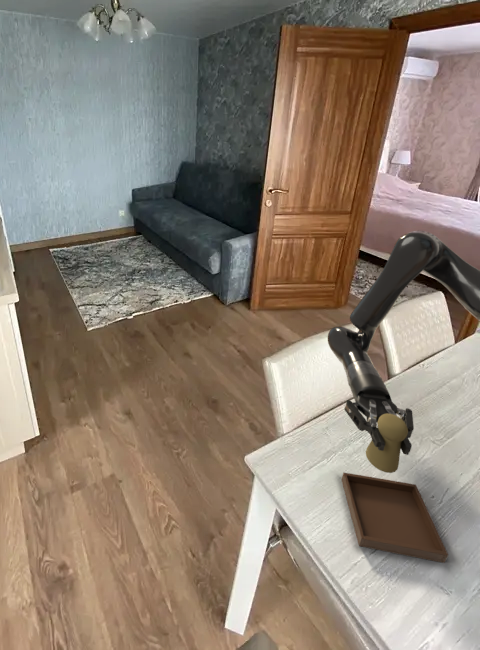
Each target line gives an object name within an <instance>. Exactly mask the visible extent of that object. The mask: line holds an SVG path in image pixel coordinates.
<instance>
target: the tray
mask: <svg viewBox="0 0 480 650" xmlns="http://www.w3.org/2000/svg"><path fill="white" fill-rule="evenodd" d="M341 483H342V487H343V491H344V495H345V499H346V502H347V506H348V509H349V513H350V518H351V521H352V525H353V529H354V532H355V537H356V540H357V544H358V547H363V548H367V549H372V550H377V551H382V552H387V553H392V554H398V555H401V556H407V557H412V558H418V559H422V560H426V561H427V560H428V561H433V562H437V563H443V564H445V563H446V561H447V560H448V558H449V552H448V551H447V549H446V547H445V544H444V543H443V541H442V538H441V537H440V533H439V532H438V529H437V526H436V525H435V523H434V521H433V518H432V516H431V513H430V512H429V509H428V507H427V506H426V505H427V504H426V503H425V501H424V498H423V497H422V495H421V492H420V490H419V488H418V486H417V484H415V483H409V482H403V481H397V480H392V479H391V480H390V479H385V478H379V477H373V476H367V475H360V474H357V473H355V474H354V473H349V472H343V473H342V475H341Z"/></svg>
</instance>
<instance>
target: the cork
mask: <svg viewBox="0 0 480 650" xmlns="http://www.w3.org/2000/svg"><path fill="white" fill-rule="evenodd" d="M396 415H397V414H396ZM396 415H393V414H383V415H381V416H380V417H379V419H378V422H377V428H378V429H379V431H380V433H381V435H382V437H383V440H384V442H385V447H384V450H383V451H380V450H378V447H375V445H374V443H373V441H372V440H371V441H370V442H369V444H368V445H367V447H366V450H365V456H366V458H367V460H368V462H369V463H370V465H372V466H373V467H374V468H375V469H377V470H379V471H380V472H383V473H389V474H392V473H395V472H397V471H398V469H399V464H400V456H401V451H402V450H401V442H402V441H403V440H404V439H405V438H406V437H407V434H408V428H407V426H406V424H405V422H404V421H403V420H402V419H401V418H400V416H399V415H397V416H396Z"/></svg>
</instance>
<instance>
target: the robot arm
mask: <svg viewBox="0 0 480 650" xmlns="http://www.w3.org/2000/svg"><path fill="white" fill-rule="evenodd" d="M423 272H425V273H426V274H427V275H429V276H430V277H432V278H433V279H435V280H436V281H437V282H438V283H440V284H442V285H443V286H444V287H445V288H446V289H447V290H448V291H449V292H450V293H451V294H452V296H453V297H454V298H455V299H456V300H457V301H458V302H459V304H461V306H463V307H464V309H465V310H466V311H467V312H468V313H470V314H471V316H473V317H474V318H475V319H476V320H478V321H479V322H480V269H478V268H477V267H475V266H474V265H472V264H470V263H469V262H467V261H466V260H464V259H463V258H462V257H461V256H460V255H458V254H457V253H456V252H455V251H454V250H452V249H451V248H450V247H448V246H447V245H446V244H445V243H444V242H443V241H442V240H441V239H440V238H439V237H438V236H436V235H435V234H433V233H432V232H429V231H426V230H413V231H410V232H409V231H408V232H406V233H404V234H402V235H401V236H400V237H399V238H398V239H396V241H395V243H394V246H393V248H392V250H391V252H390V255H389V257H388V259H387V261H386V263H385V265H384V267H383V269H382V270H381V272H380V274H379V275H378V277H377V278H376V280H375V281H374V282H373V284H372V285H371V286H370V287H369V289H368V290H367V292H366V293H365V294H364V296H363V297H362V298H361V300H360V301H359V302H358V304H357V305H356V306H355V307H354V309H353V310H352V312H351V313H350V315H349V321H350V323H351V325H353V326H354V327H355V328H356V329H357V330H358V331H355V330H352V329H350V328H347V327H345V326H341V325H336V326H333V327H332V328H331V329H330V330H329V331H328V334H327V344H328V347H329V348H330V350H331V352H332V353H333V354H334V356H335V357H336V359H337V360H338V361H339V362H340V363H341V365H342V367H343V369H344V372H345V375H346V380H347V384H348V386H349V388H350V391H351V394H352V396H353V399H354V401H353V402H352V400H350V399H347V400H346V403H345V406H344V411H345V413H346V414H347V416H349V418H350V419H351V421H352V422H353V424H354V425H355V426H356V427H357V429H358V430H359V431H361V432H364V431H365V432H367V433H368V434H369V435H370V439H371V441H373V443H374V445H375V447H378V450H380V451H383V450H384V447H385V442H384V440H383V437H382V435H381V433H380V431H379V429H378V424H377V422H378V419H379V417H380V416H381V415H383V414H393V415H396V416H398V417H399V418H401V419H402V420H403V421H404V422H405V424H406V426H407V428H408V434H407V437H406V438H405V439H404V440H403V441H402V442H401V450H400V451H401V452H402V454H403V455H405V456H408V455H409V453H410V452H411V451H412V447H413V446H412V443H411V441H410V438H411V437H412V434H413V431H414V429H415V428H414V416H413V410H412V409H410V408H408V407H407V408H405V409H402V408H399V407H398V406H397V404H395V403H394V402H393V400H392V397H391V394H390V392H389V390H388V388H387V385H385V382H384V380H383V378H382V375H381V374H380V373H379V371H378V369H377V368H376V367H375V365H374V362H373V361H372V359H371V357H370V355H369V354H368V352H369V349H370V346H371V344H372V340H373V338H374V335H375V333H376V330H377V329H378V328H379V326H380V325H381V323H382V322H383V321H384V319H386V317H387V316H388V314H389V313H390V312H391V310H392V309H393V307H394V306H395V303H396V302H397V300H398V299H399V297H400V296H401V294H402V293H403V292H404V290H405V289H406V288H407V286H409V284H410V283H411V282H412V281H413V280H414V279H416V277H418V276H419V275H420V274H421V273H423Z"/></svg>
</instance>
